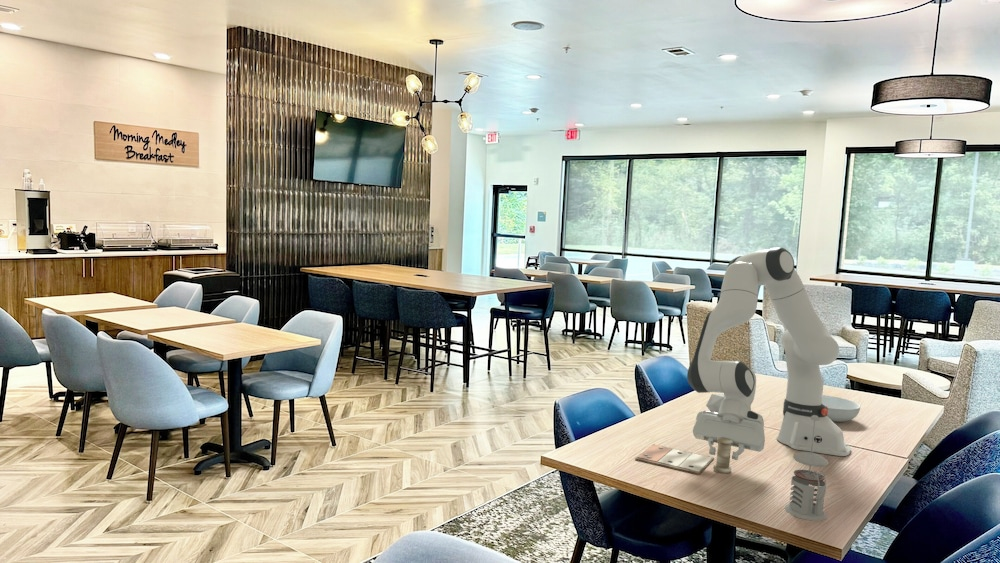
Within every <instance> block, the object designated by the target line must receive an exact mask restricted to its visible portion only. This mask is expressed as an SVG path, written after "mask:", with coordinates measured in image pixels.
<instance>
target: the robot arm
mask: <svg viewBox="0 0 1000 563" xmlns="http://www.w3.org/2000/svg"><path fill="white" fill-rule="evenodd" d="M764 285H765V287H766V290H767V294H768V295H769V296H768V297H769V298H770V301H771V303H772V305H773V307H774V309H775V313H776V314H777V316H778V319H779V322H781V323H782V324H783V325H784V328H786V330H784V332H782V336H781V344H782V346H783V350H784V353H785V354H784V355H785V363H786V369H787V382H786V395H785V398H784V401H783V406H782V415H783V416H782V421H781V426H780V429H779V432H778V435H777V437H776V440H777V441H778V442H780V443H781V444H784V445H787V446H789V447H790V448H791V449H794V450H799V451H803V452H811V447H812V437H813V427H814V420H811V416H813V415H816V416H818V417H819V421H815V428H814V438H813V448H812V452H813V453H816V454H825V455H829V456H830V455H832V456H837V457H838V456H839V457H845V456H846V457H847V456H848V455H850V454H851V450H852V449H851V446H850V445H849V444H847V443H846V442H845V438H844V433H843V431H842V429H841V428H840V427H839V426H838V425H837V424H836V422H833V421H832V420H830V419H829V418H828V417H827V414H828V407H827V406H824V405H823V404H822V395H824V379H823V376H822V372H821V368H820V366H826V365H830V364H833V363H834V362H835V361H837V360H836V359H837V358H838V357H839V353H840V347H839V344H838V342H837V341H836V340H835V338H833V336H832V335H831V334H830V332H829V330H828V329H827V327H826V326H825V324H824V323H823V321H822V319H821V317H820V316H819V315H818V314H817V312H816V310H815V309H814V306H813V305H812V303H811V299H810V298H809V295H808V292H807V291H806V288H805V286H804V284H803V281H802V279H801V277H800V275H799V274H798V271H797V270H796V269H795V261H794V257H793V255H792V254H791V252H790V251H789V250H787V249H786V248H784V247H771V248H766V249H760V250H755V251H753V252H750V253H747V254H745V255H744V254H743V255H739V256H736V257H735V258H733V259H731V260H730V261H729V263H728V264H727V267H726V271H725V273H724V275H723V280H722V284H721V288H720V295H719V300H718V302H717V304H716V306H715V307H714V308H713V309H712V310H711V311H709V312H708V313H707V315H706V317H705V319H704V322H703V325H702V328H701V331H700V335H699V338H698V342H697V346H696V348H695V352H694V355H693V358H692V359H691V362H690V364H689V366H688V369H687V375H686V377H687V378H686V379H687V383H688V385H690V386H689V387H691V388H692V389H693V390H694V391H695V392H697V393H698V394H700V393H701V394H704V393H717V394H724V399H723V400H722V402H721V405H720V408H719V412H718V413H715V412H711V411H709V410H708V411H707V410H703V411H699V412H698V413H696V414H697V415H696V418H695V420H696V421H695V423H694V426H693V428H692V433H693V436H694V438H695V439H698V440H702V441H706V442H708V446H709V450H708V454H709V455H712V456H715V455H716V453H717V448H716V447H714V444H715V443H716V444H718V442H717V438H718V437H724V438H729V439H732V440H733V442H732V444H731V447H735V448H738V449H737V450H736V451H732V454H731V459H732V460H733V461H738V459H739V456H741V454H743V453H744V452H745V450H749V451H753V452H758V453H759V452H762V451H763V450H764V449H765V444H766V443H765V440H766V439H765V438H766V436H765V429H764V428H765V421H764V418H763V417H764V416H763V415H762V414H760V413H757V412H756V411H753V410H752V404H753V402H754V399H755V394H756V388H757V376H756V373H755V372H754V371H753V370H752V369H751V368H749V366H748V365H747V364H746V363H744V362H743V361H739V360H737V361H736V360H712V355H713V352H714V348H715V344H716V341H717V339H718V337H719V336H720V335H721V334H723V333H724V332H727V330H729V329H733V328H735V327H738V326H742V325H743V324H745V323H747V322H749V321H750V320H751V319H752V318H753V317H754V316H755V314H756V311H757V307H758V306H757V305H758V299H759V297H758V296H759V287H760V286H764Z"/></svg>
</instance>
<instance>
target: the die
mask: <svg viewBox="0 0 1000 563" xmlns="http://www.w3.org/2000/svg"><path fill="white" fill-rule="evenodd" d="M723 399H724V393H711V395H710V397H709V399H708V401H707V402H706V404H705V406H706V407H707V409H708V411H709V412H715V413H718V412H719V408H720V405H721V402H722V400H723Z"/></svg>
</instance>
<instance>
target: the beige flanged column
mask: <svg viewBox="0 0 1000 563" xmlns="http://www.w3.org/2000/svg"><path fill="white" fill-rule="evenodd" d="M717 442H718V443H717V449H716V463H714V464H713V469H714V470H713V469H712V470H713V471H715V472H716V473H719V474H724V475H725V474H726V475H727V474H731V473H732V466H730V462H731V460H730V459H731V451H732V446H731V444H732V442H733V440H732V439H729V438H724V437H718V438H717Z"/></svg>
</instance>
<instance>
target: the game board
mask: <svg viewBox="0 0 1000 563" xmlns="http://www.w3.org/2000/svg"><path fill="white" fill-rule="evenodd" d="M634 459H635V461H638V460H639V462H642V461H643V462H642V463H646V462H647V463H646V464H651V465H655V466H659V467H663V466H664V468H667V467H668V469H673V470H675V471H676V470H677V471H680V472H681V471H682V472H684V471H685V473H688V474H694V475H697V476H700V475H701V473H702V472H704V470H706V468H707V467H708V466H709V465H710V464H711V463H712V462H713V461H714V459H715V457H713V456H710V455H709V456H708V455H704V454H700V453H695V452H690V451H686V450H683V449H682V450H681V449H677V448H673V447H667V446H665V445H664V446H663V445H659V444H652V445H650V446H649V447H648V448H646V449H645V450H644V451H643V452H642V453H639V455H638V456H637V457H635V458H634Z"/></svg>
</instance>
